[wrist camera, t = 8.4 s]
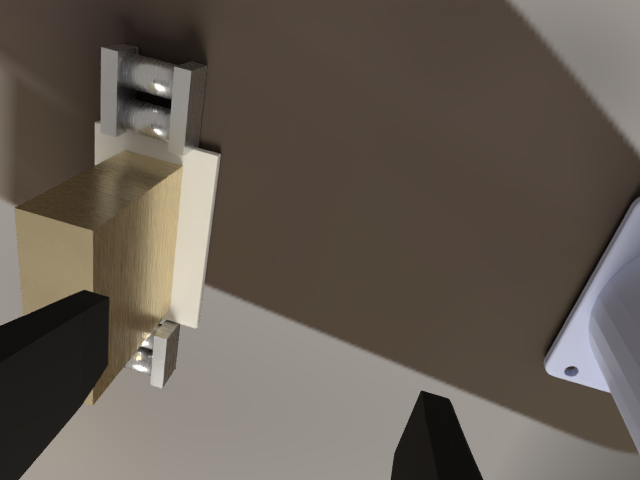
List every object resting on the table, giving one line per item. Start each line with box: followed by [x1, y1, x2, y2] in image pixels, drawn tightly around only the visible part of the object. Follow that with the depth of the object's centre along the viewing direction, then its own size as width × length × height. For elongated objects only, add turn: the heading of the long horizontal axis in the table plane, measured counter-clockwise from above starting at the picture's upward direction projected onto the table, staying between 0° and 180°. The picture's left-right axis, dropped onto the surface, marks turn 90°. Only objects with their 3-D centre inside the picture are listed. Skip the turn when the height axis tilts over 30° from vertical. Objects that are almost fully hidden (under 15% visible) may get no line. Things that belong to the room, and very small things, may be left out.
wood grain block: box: [15, 150, 183, 406], centre depth 18 cm, size 2×7×6 cm, turn 168°
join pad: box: [95, 121, 221, 328], centre depth 21 cm, size 5×8×1 cm, turn 168°
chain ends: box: [100, 43, 207, 388], centre depth 21 cm, size 3×15×1 cm, turn 168°
